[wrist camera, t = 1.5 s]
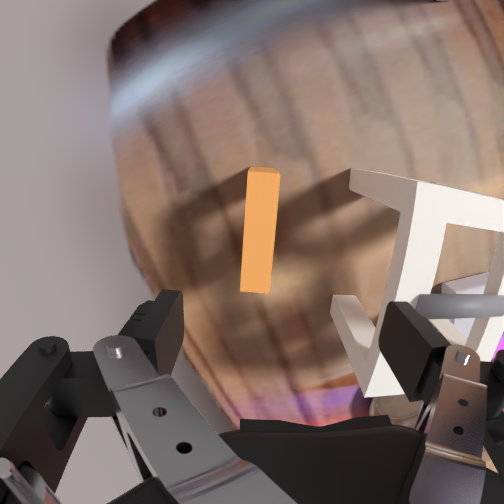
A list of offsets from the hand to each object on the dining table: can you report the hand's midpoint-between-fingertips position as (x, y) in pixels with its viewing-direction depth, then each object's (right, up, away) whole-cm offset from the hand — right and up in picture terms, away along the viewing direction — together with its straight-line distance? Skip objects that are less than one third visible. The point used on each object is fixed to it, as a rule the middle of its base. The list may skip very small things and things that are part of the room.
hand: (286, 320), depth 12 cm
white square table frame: (+16, +3, +25) cm, 30 cm away
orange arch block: (-1, +7, +24) cm, 25 cm away
